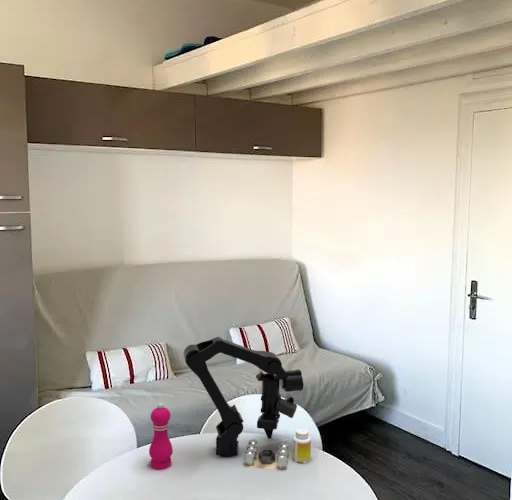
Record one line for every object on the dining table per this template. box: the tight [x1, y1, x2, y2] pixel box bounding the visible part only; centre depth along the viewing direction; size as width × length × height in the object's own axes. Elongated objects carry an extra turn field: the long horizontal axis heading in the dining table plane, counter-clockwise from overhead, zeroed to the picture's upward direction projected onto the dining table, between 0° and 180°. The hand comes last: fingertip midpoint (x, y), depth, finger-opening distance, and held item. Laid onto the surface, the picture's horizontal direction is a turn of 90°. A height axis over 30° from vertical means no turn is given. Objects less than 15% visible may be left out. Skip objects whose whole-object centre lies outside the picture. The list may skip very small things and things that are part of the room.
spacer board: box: [243, 451, 287, 472], centre depth 179 cm, size 13×14×1 cm
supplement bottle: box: [292, 428, 312, 464], centre depth 182 cm, size 6×6×10 cm
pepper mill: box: [148, 402, 174, 470], centre depth 179 cm, size 7×7×20 cm
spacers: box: [244, 439, 290, 471], centre depth 181 cm, size 13×10×4 cm
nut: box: [258, 449, 276, 465], centre depth 181 cm, size 5×4×3 cm
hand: (269, 438), depth 189 cm, fingers closed
